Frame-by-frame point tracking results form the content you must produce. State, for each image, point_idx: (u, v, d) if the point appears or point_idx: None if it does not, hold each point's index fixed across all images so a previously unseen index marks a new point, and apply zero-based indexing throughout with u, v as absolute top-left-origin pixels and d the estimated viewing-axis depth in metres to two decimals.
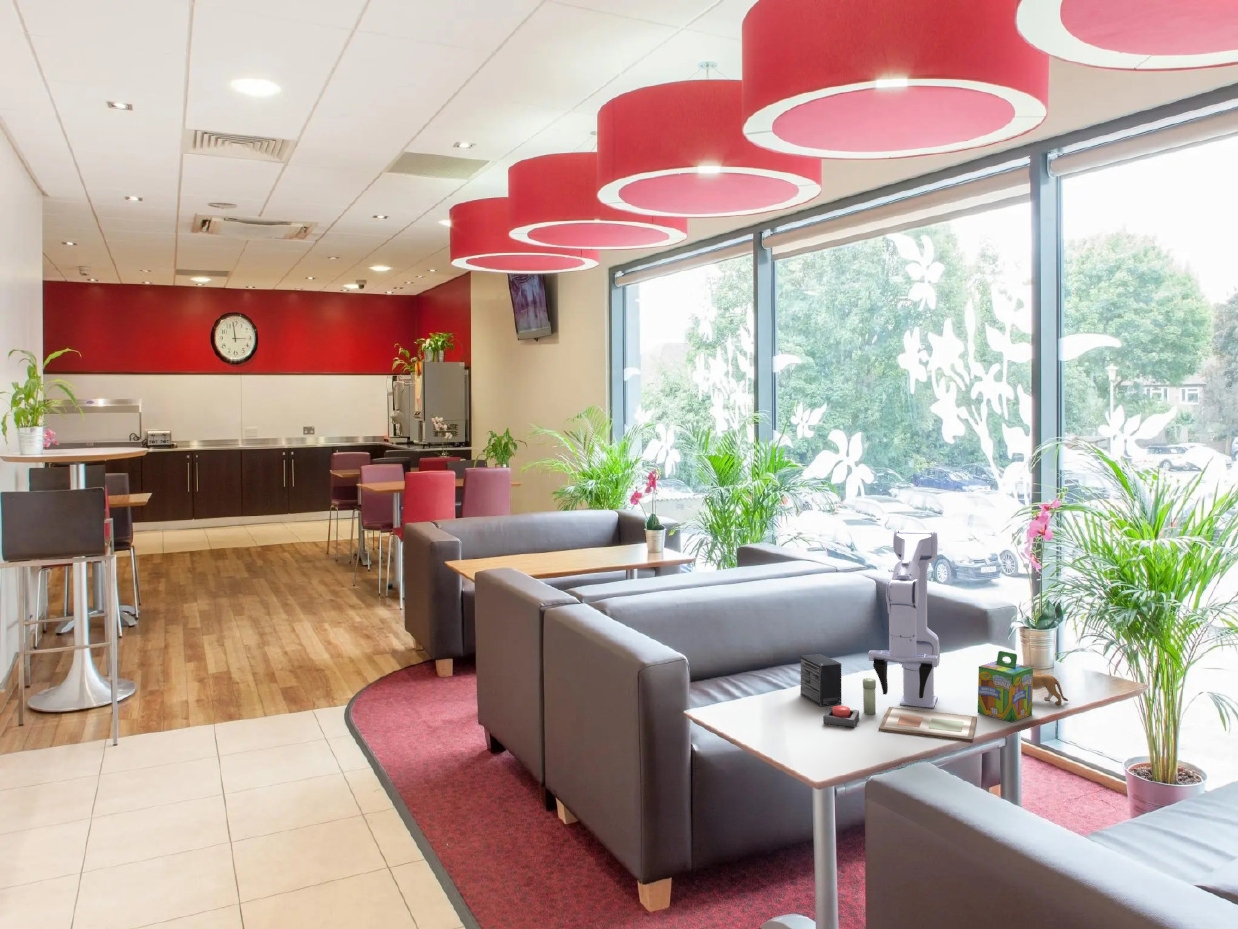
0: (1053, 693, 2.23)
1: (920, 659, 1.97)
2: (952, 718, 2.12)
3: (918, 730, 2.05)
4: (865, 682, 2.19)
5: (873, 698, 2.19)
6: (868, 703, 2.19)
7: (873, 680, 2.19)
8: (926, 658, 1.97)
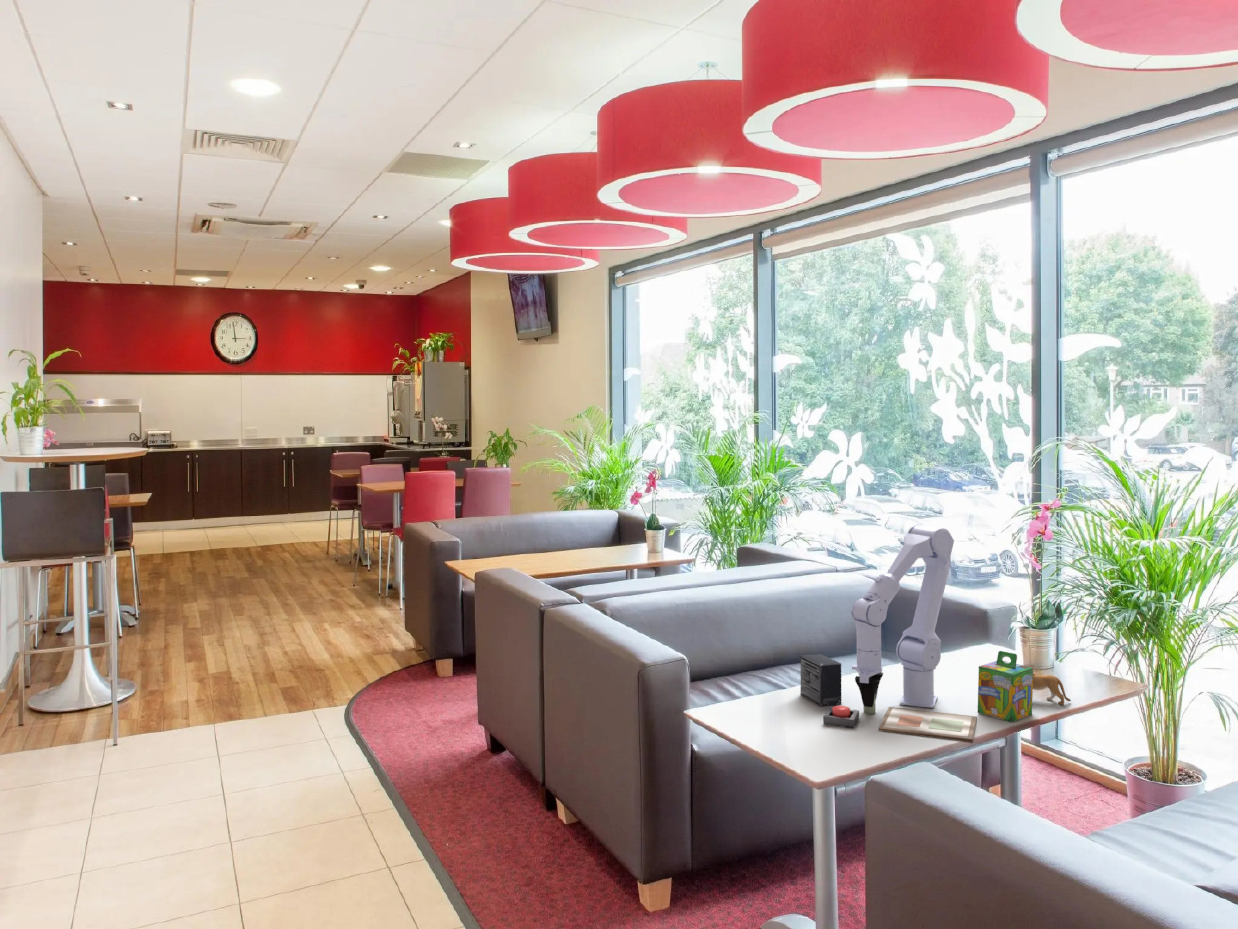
0: (1056, 693, 2.22)
1: (858, 672, 2.17)
2: (952, 718, 2.12)
3: (918, 730, 2.05)
4: None
5: None
6: None
7: None
8: (859, 672, 2.15)
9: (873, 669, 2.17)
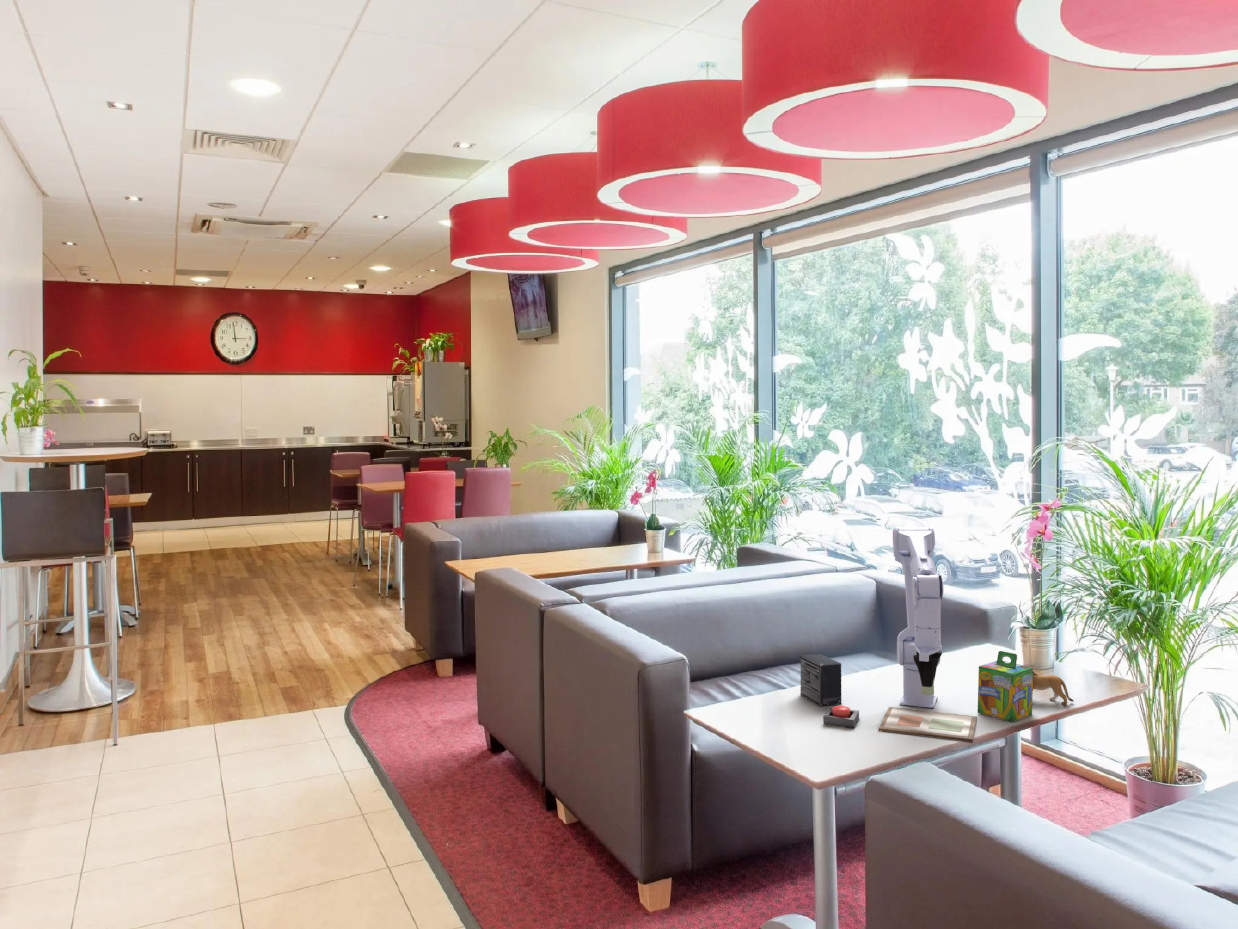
0: (1059, 694, 2.22)
1: (917, 650, 2.07)
2: (952, 718, 2.12)
3: (918, 730, 2.05)
4: None
5: None
6: None
7: None
8: (918, 650, 2.06)
9: (933, 647, 2.07)
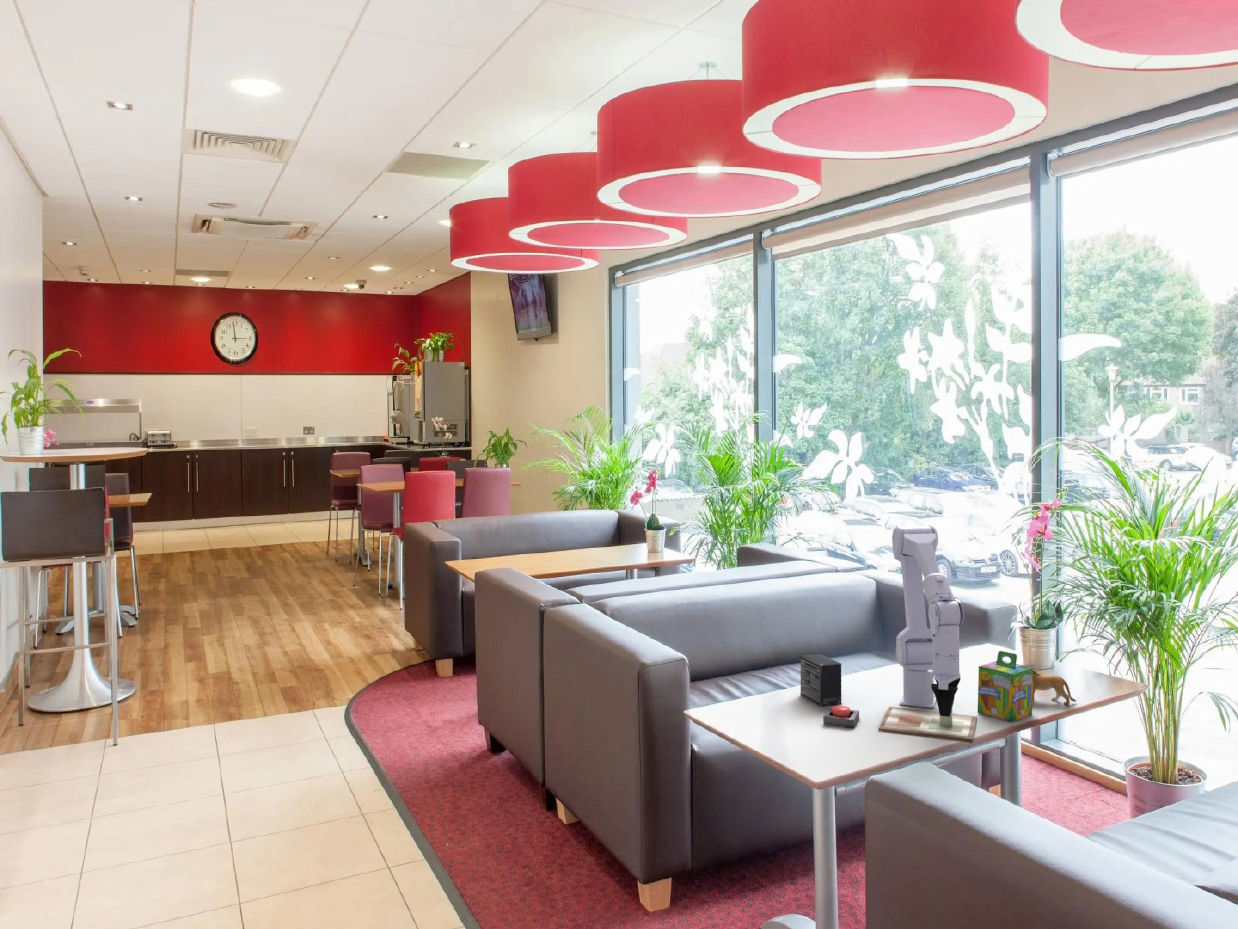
0: (1061, 694, 2.22)
1: (935, 677, 2.05)
2: (952, 718, 2.12)
3: (918, 730, 2.05)
4: None
5: None
6: None
7: None
8: (937, 678, 2.03)
9: (951, 675, 2.04)
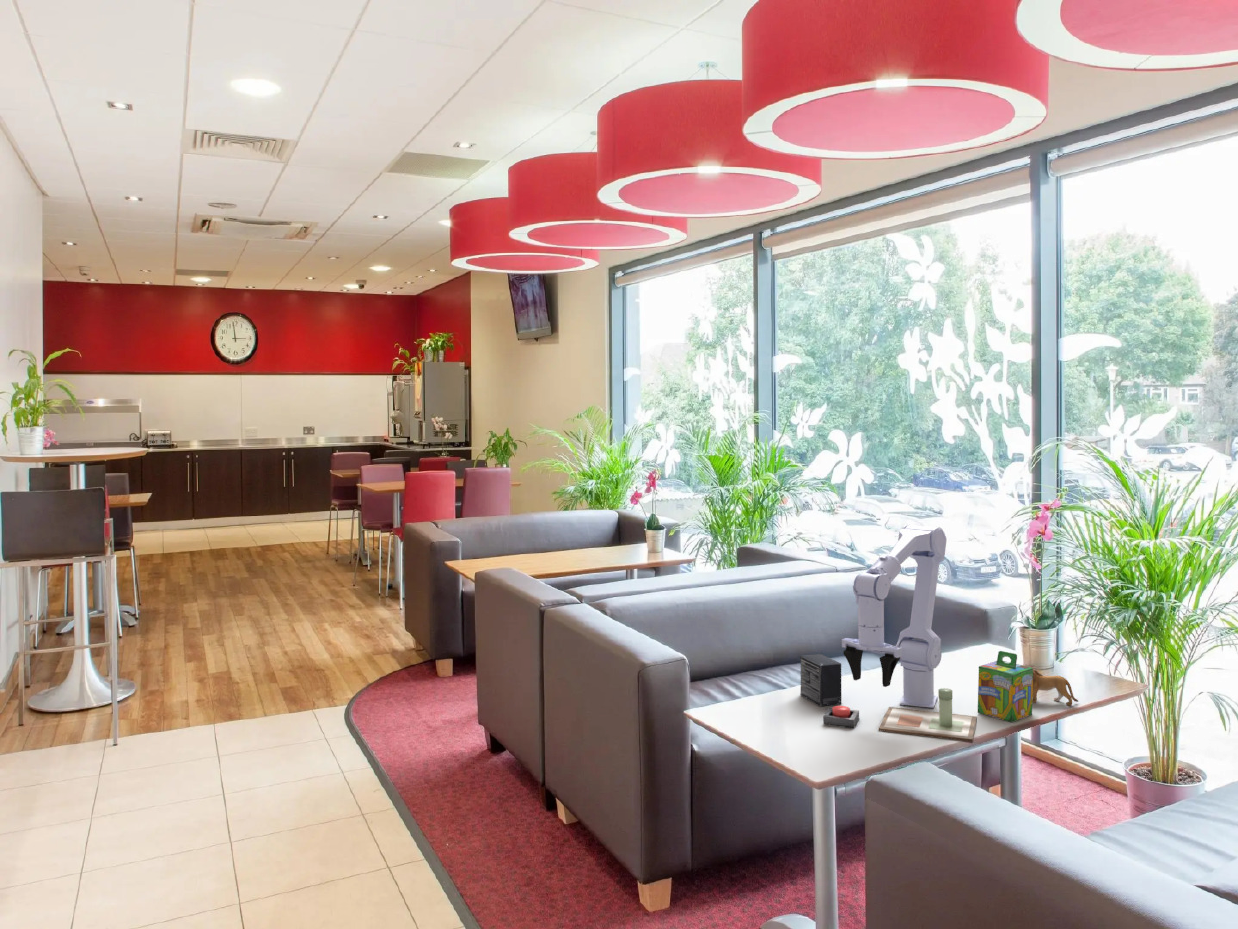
0: (1064, 694, 2.22)
1: (882, 649, 2.07)
2: (952, 718, 2.12)
3: (918, 730, 2.05)
4: (941, 693, 2.07)
5: (950, 709, 2.07)
6: (945, 715, 2.07)
7: (950, 690, 2.07)
8: (888, 649, 2.07)
9: (884, 643, 2.10)
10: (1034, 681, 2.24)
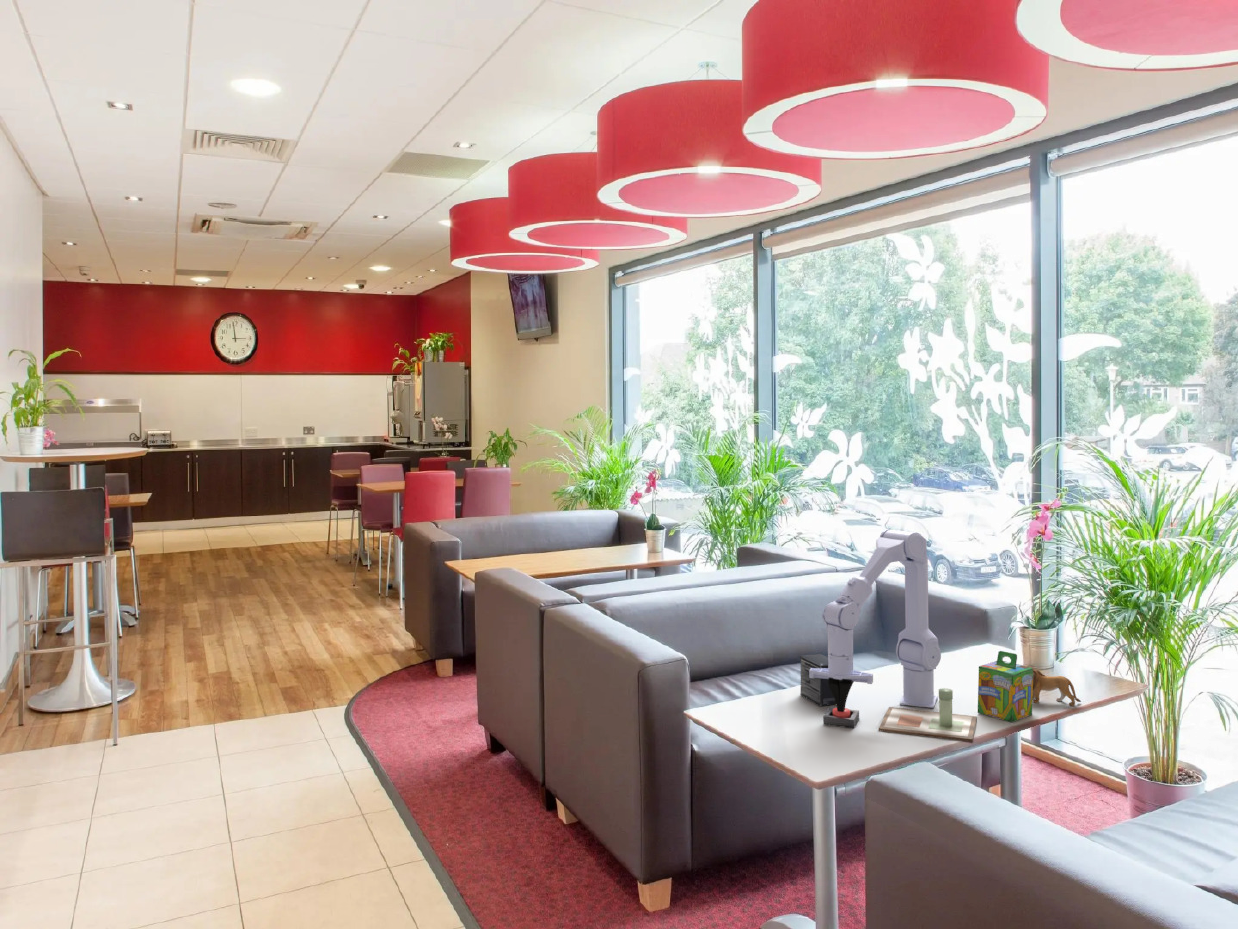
0: (1067, 694, 2.22)
1: (856, 677, 2.10)
2: (952, 718, 2.12)
3: (918, 730, 2.05)
4: (942, 693, 2.06)
5: (950, 709, 2.07)
6: (945, 715, 2.07)
7: (950, 690, 2.07)
8: (861, 676, 2.10)
9: None
10: (1037, 681, 2.24)
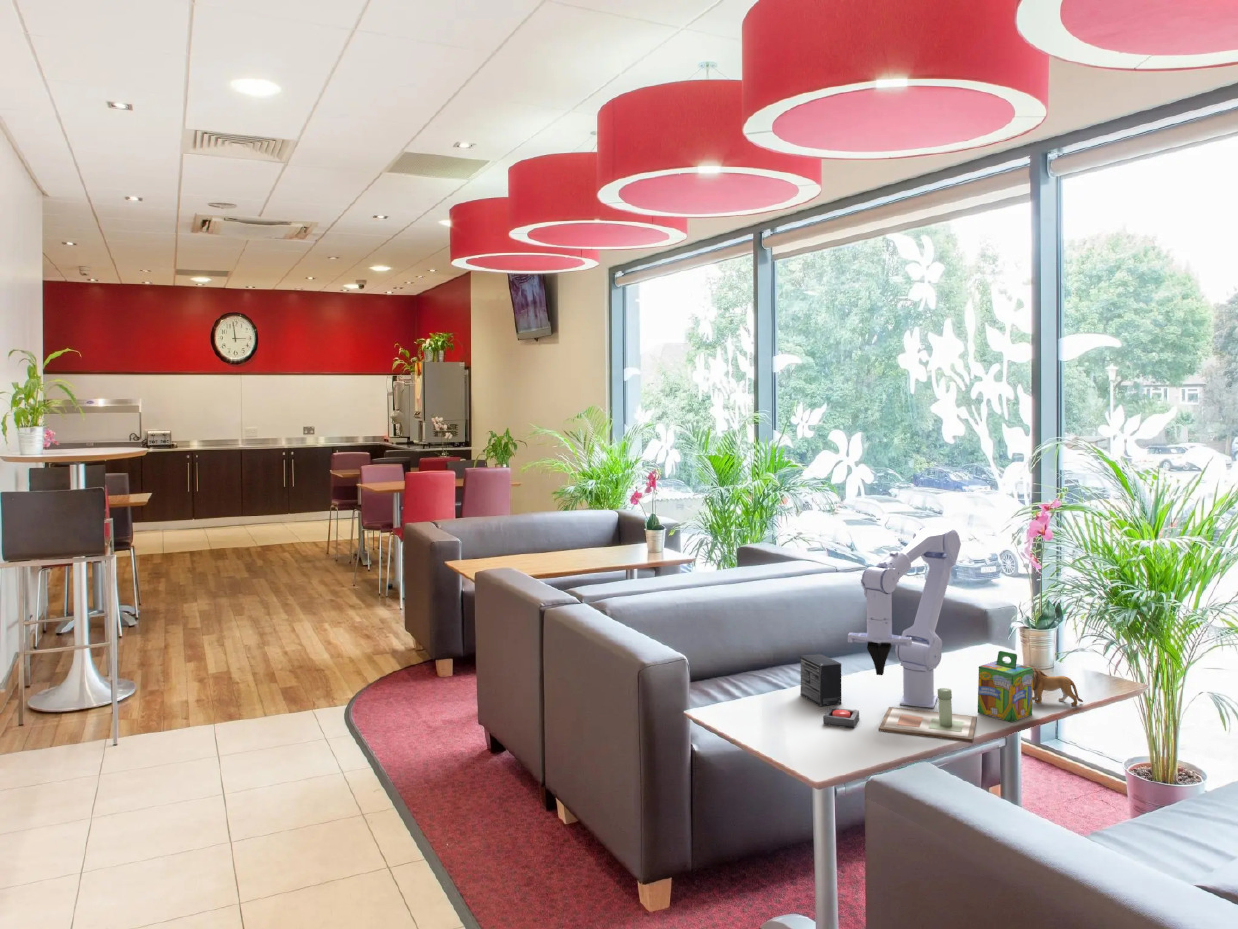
0: (1069, 694, 2.21)
1: (895, 640, 2.13)
2: (952, 718, 2.12)
3: (918, 730, 2.05)
4: (941, 692, 2.07)
5: (950, 709, 2.07)
6: (945, 715, 2.07)
7: (949, 690, 2.07)
8: (901, 639, 2.13)
9: None
10: (1039, 681, 2.24)
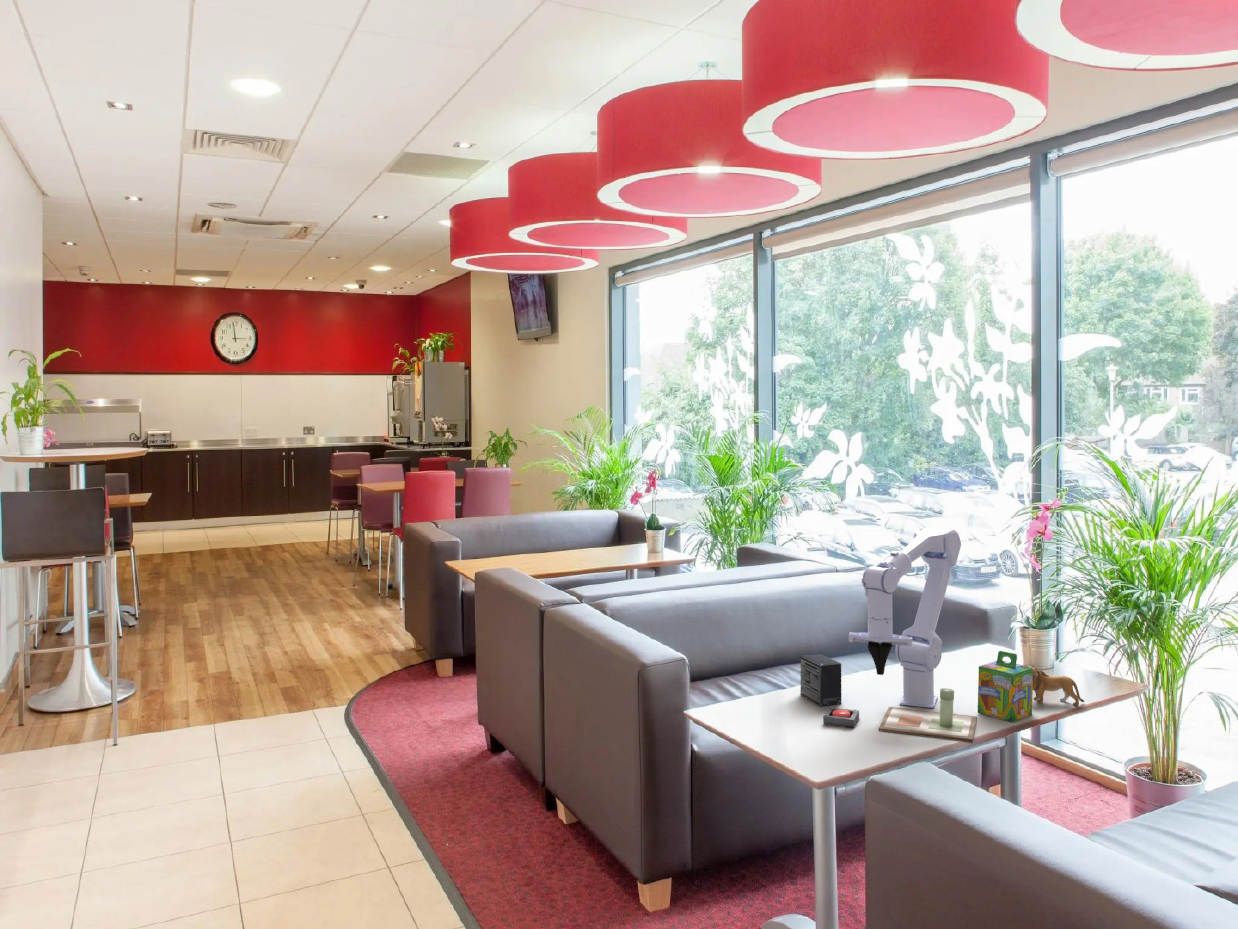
0: (1071, 694, 2.21)
1: (896, 640, 2.13)
2: None
3: (918, 730, 2.05)
4: (944, 692, 2.07)
5: (951, 709, 2.07)
6: (946, 715, 2.07)
7: (951, 690, 2.07)
8: (901, 639, 2.13)
9: None
10: (1041, 682, 2.24)
